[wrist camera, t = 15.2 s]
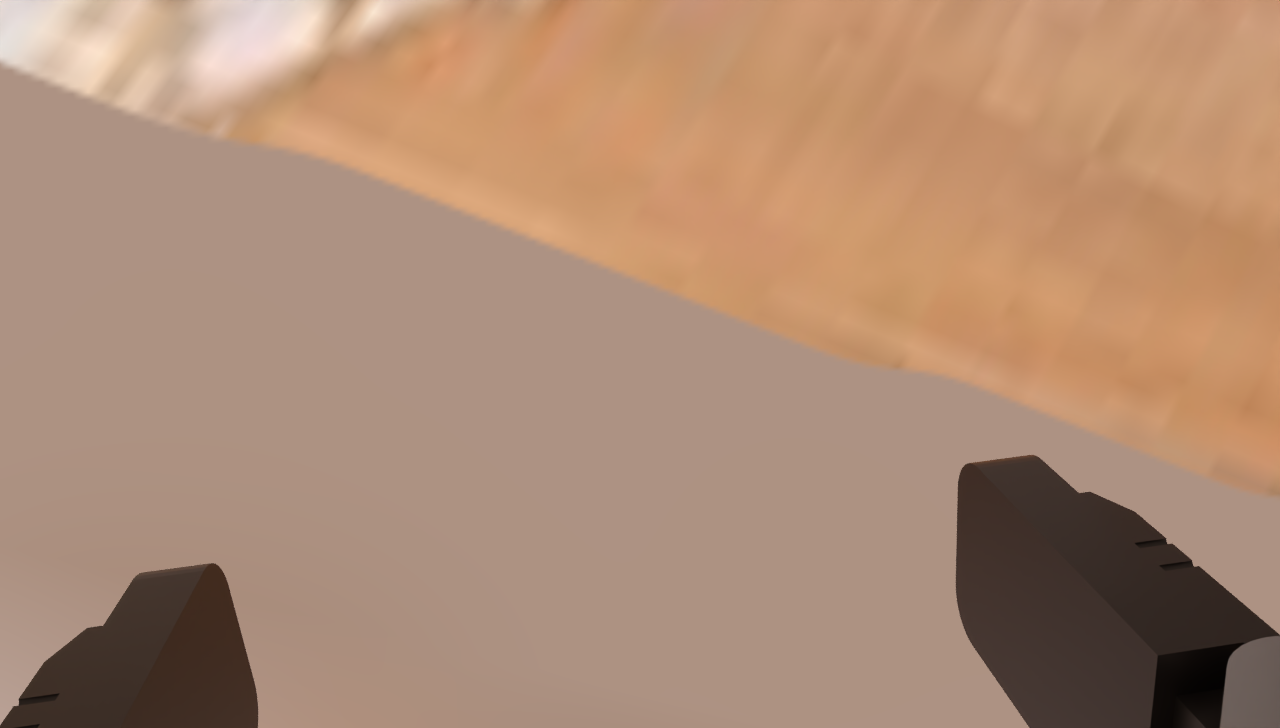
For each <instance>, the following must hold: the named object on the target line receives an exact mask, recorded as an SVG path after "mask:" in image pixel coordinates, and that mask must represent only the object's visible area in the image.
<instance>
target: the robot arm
mask: <svg viewBox="0 0 1280 728" xmlns="http://www.w3.org/2000/svg"><path fill="white" fill-rule="evenodd" d="M957 509H958V510H957V511H958V512H957V556H956V595H957V602H958V608H959V612H960V617H961V620H962V623H963V626H964V629H965V631H966V634H967V636H968V638H969V640H970V642H971V643H972V645H973V646H974V648H975V650H976V651H977V652H978V654H979V655H980V657H981V658H982V660H983V661H984V662H985V664H986V665H987V667H988V668H989V670H990V671H991V673H992V674H993V675H994V677H995V678H996V680H997V681H998V683H999V684H1000V686H1001V687H1002V688H1003V690H1004V691H1005V693H1006V694H1007V696H1008V697H1009V699H1010V700H1011V701H1012V703H1013V704H1014V706H1015V707H1016V709H1017V710H1018V711H1019V713H1020V714H1021V716H1022V717H1023V719H1024V720H1025V722H1026V723H1027V725H1028V726H1029V727H1030V728H1280V635H1279V634H1278V633H1277V632H1276V631H1275V630H1273V629H1272V628H1271V627H1270V626H1269V625H1268V624H1266V623H1265V622H1264V621H1263V620H1262V619H1260V618H1259V617H1258V616H1257V615H1256V614H1255V613H1253V612H1252V611H1251V610H1250V609H1249V608H1247V607H1246V606H1245V605H1244V604H1243V603H1242V602H1240V601H1239V600H1238V599H1237V598H1236V597H1235V596H1233V595H1232V594H1231V593H1230V592H1229V591H1227V590H1226V589H1225V588H1224V587H1223V586H1222V585H1220V584H1219V583H1218V582H1217V581H1216V580H1215V579H1213V578H1212V577H1211V576H1210V575H1209V574H1207V573H1206V572H1205V571H1204V570H1203V569H1202V568H1200V567H1199V566H1197V567H1194V566H1193V564H1192V560H1191V559H1190V558H1189V557H1187V556H1186V555H1185V554H1184V553H1183V552H1182V551H1180V550H1179V549H1178V548H1177V547H1175V545H1173V544H1167V542H1166V538H1165V537H1164V536H1163V535H1162V534H1160V533H1159V532H1158V531H1157V530H1156V529H1154V528H1153V527H1152V526H1151V525H1150V524H1148V523H1147V522H1146V521H1145V520H1144V519H1143V518H1142V517H1140V516H1139V515H1138V514H1137V513H1136V512H1134V511H1132V510H1130V509H1127V508H1125V507H1123V506H1120V505H1118V504H1116V503H1114V502H1112V501H1110V500H1107V499H1105V498H1103V497H1101V496H1098V495H1096V494H1094V493H1091V492H1085V493H1078V492H1077V491H1076V490H1075V489H1074V488H1072V487H1071V486H1070V485H1069V484H1068V483H1067V482H1066V481H1065V480H1064V479H1062V478H1061V477H1060V476H1059V475H1058V474H1057V473H1056V472H1055V471H1054V470H1052V469H1051V468H1050V467H1049V466H1048V465H1047V464H1046V463H1045V462H1043V461H1042V460H1041V459H1040V458H1039V457H1037V456H1034V455H1027V456H1020V457H1012V458H1005V459H997V460H990V461H983V462H975V463H969V464H966V465H965V466H964V467H963V468H962V470H961V473H960V476H959V481H958V508H957ZM0 728H258V702H257V693H256V688H255V683H254V679H253V676H252V672H251V668H250V665H249V661H248V657H247V653H246V649H245V646H244V642H243V638H242V635H241V631H240V627H239V623H238V620H237V616H236V612H235V608H234V605H233V601H232V597H231V594H230V590H229V586H228V583H227V580H226V577H225V575H224V573H223V571H222V570H221V569H220V567H219V566H218V565H216V564H214V563H211V564H203V565H196V566H189V567H181V568H174V569H166V570H159V571H151V572H144V573H140V574H139V575H137V576H136V577H135V578H134V579H133V580H132V582H131V584H130V585H129V587H128V588H127V590H126V591H125V593H124V594H123V596H122V598H121V599H120V601H119V602H118V604H117V605H116V607H115V608H114V610H113V612H112V613H111V615H110V616H109V618H108V619H107V621H106V623H105V624H104V625H103V626H98V627H91V628H87V629H86V630H84V631H83V632H82V633H80V634H79V635H78V636H77V637H75V638H74V639H73V640H72V641H70V642H69V643H68V644H67V645H65V646H64V647H63V648H62V649H61V650H59V651H58V652H57V653H55V654H54V655H53V656H52V657H50V658H49V659H48V660H47V661H45V662H44V663H43V665H42V666H41V668H40V669H39V671H38V672H37V674H36V675H35V676H34V678H33V679H32V681H31V682H30V684H29V685H28V687H27V688H26V689H25V691H24V692H23V694H22V695H21V696H20V698H19V706H14V707H13V708H12V710H11V711H10V712H9V714H8V715H7V717H6V718H5V719H4V721H3V722H2V724H1V725H0Z"/></svg>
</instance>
